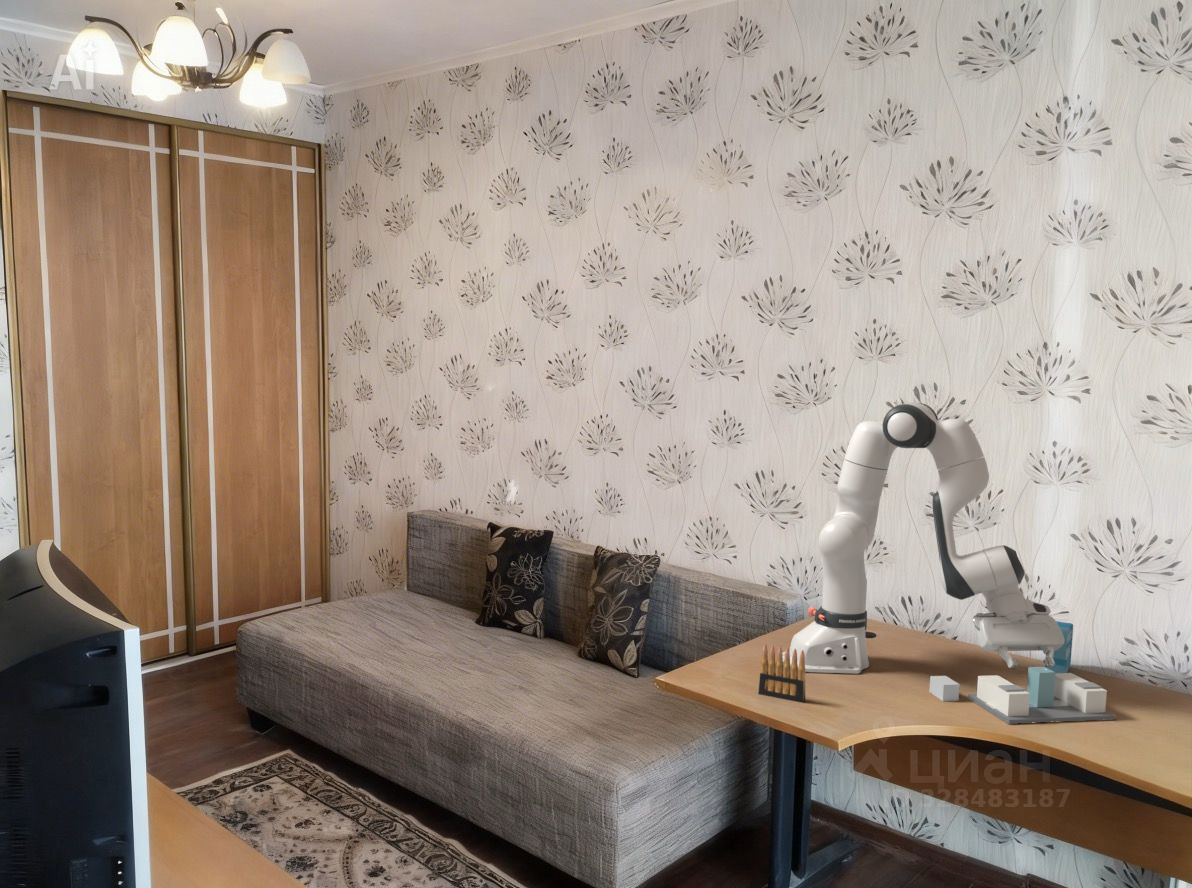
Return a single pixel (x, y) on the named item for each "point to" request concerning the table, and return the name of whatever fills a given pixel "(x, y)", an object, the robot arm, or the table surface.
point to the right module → (1080, 693)
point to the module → (1041, 686)
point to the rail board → (1045, 712)
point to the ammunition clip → (782, 675)
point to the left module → (1003, 695)
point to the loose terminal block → (944, 688)
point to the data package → (1063, 649)
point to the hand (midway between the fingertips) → (1032, 666)
